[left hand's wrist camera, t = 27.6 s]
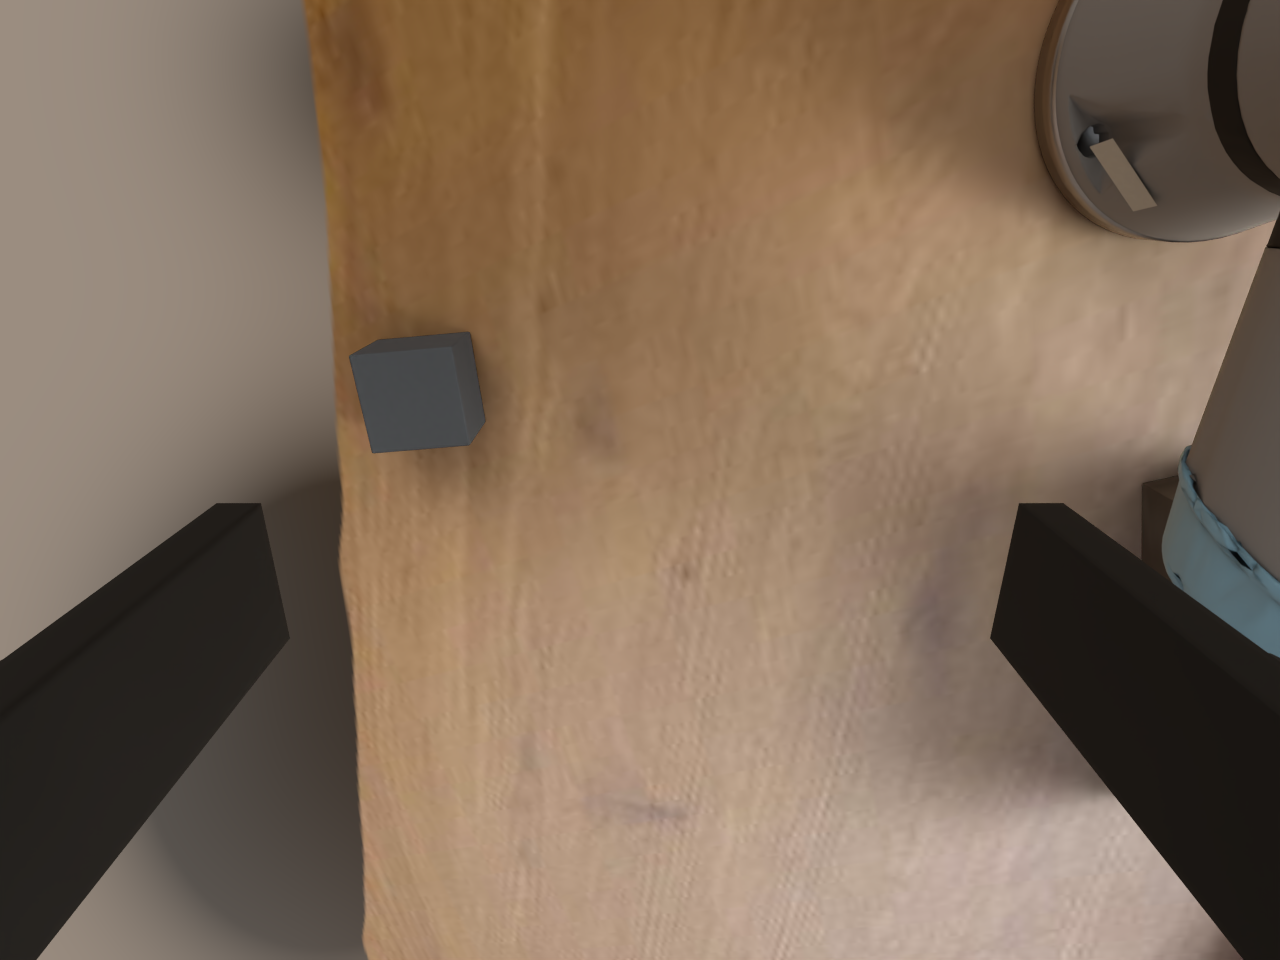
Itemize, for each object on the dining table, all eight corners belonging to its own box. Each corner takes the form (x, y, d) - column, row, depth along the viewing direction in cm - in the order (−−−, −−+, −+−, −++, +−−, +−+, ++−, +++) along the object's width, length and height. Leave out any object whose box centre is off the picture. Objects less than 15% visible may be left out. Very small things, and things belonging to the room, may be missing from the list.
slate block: (376, 339, 38) (347, 355, 34) (470, 331, 38) (451, 346, 34) (396, 429, 40) (371, 453, 36) (486, 422, 40) (470, 445, 36)
